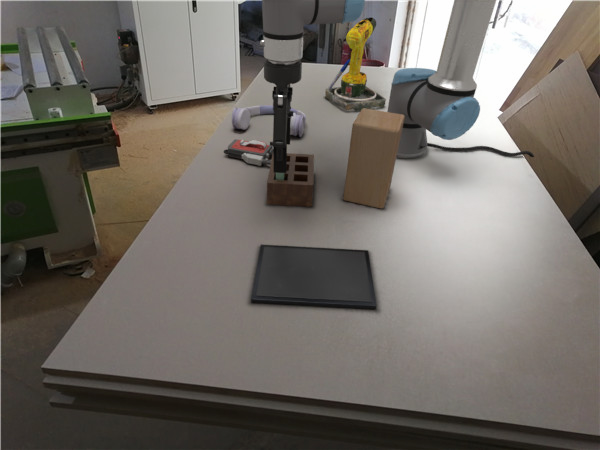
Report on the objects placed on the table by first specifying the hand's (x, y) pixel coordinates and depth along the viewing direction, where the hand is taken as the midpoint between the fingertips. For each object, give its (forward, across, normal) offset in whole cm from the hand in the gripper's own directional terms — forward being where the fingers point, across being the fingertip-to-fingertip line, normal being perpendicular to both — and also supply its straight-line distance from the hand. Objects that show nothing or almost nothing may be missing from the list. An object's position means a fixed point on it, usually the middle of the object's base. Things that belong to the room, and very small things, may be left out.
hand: (282, 157), depth 92 cm
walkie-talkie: (+11, -19, -8) cm, 24 cm away
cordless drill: (+12, -69, +23) cm, 74 cm away
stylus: (+11, 0, -1) cm, 11 cm away
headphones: (+11, -43, -6) cm, 45 cm away
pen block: (+11, -4, +2) cm, 12 cm away
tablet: (+11, +27, +8) cm, 30 cm away
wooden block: (+11, -3, +21) cm, 24 cm away
